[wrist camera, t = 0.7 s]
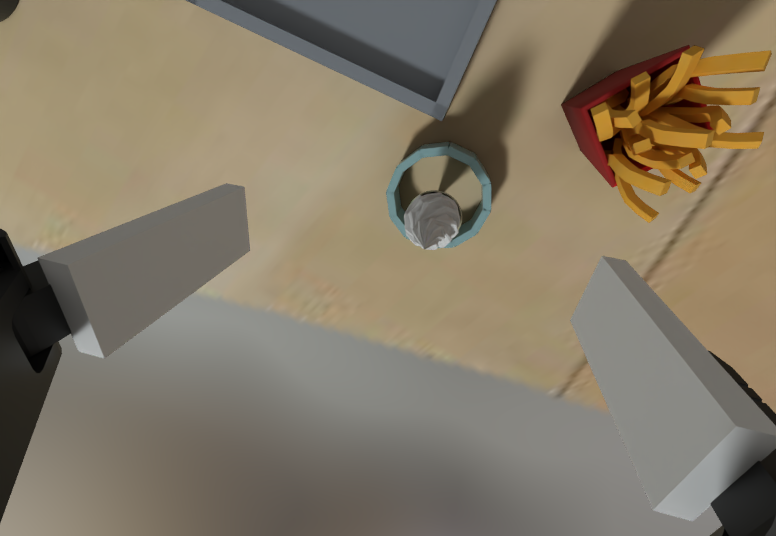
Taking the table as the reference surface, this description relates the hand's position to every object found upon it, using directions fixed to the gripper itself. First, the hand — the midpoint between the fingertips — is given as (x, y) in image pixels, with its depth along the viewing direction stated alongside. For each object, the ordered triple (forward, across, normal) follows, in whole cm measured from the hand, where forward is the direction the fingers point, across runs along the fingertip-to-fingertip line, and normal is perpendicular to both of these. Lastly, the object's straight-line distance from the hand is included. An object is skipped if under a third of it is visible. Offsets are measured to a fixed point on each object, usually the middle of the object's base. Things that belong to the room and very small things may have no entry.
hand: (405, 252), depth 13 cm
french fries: (+26, +14, +5) cm, 30 cm away
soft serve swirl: (+26, 0, -5) cm, 27 cm away
